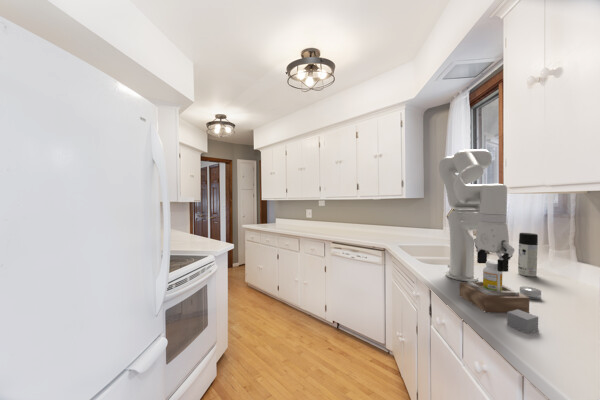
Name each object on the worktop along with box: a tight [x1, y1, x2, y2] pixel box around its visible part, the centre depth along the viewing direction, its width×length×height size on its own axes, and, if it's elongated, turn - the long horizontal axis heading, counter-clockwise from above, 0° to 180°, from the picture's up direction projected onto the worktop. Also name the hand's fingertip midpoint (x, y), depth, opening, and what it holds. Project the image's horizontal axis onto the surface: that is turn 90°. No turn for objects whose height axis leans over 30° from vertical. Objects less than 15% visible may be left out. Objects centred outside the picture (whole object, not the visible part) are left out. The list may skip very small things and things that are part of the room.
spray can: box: [517, 232, 539, 278], centre depth 120 cm, size 7×7×20 cm
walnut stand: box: [458, 281, 530, 314], centre depth 89 cm, size 14×14×6 cm
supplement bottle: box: [482, 260, 503, 291], centre depth 88 cm, size 5×5×10 cm
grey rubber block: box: [506, 309, 539, 334], centre depth 73 cm, size 5×5×4 cm
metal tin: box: [519, 286, 542, 301], centre depth 95 cm, size 6×6×3 cm
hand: (491, 267), depth 89 cm, fingers open, 9 cm apart
